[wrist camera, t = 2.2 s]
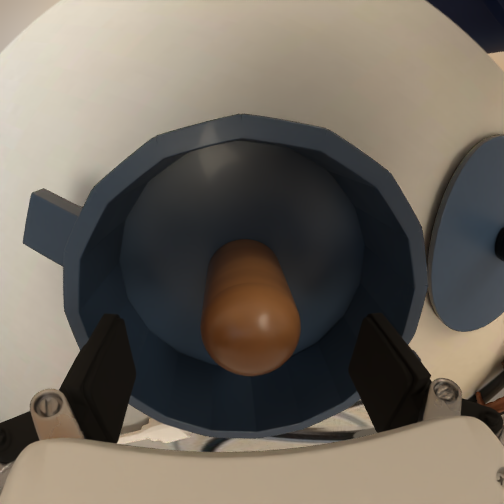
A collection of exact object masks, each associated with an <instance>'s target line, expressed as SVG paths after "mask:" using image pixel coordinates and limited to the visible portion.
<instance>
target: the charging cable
mask: <svg viewBox="0 0 504 504" xmlns="http://www.w3.org/2000/svg"><path fill="white" fill-rule="evenodd" d="M191 435H192V432H189V431H185V430H182V429H178V428H175V427H172V426H169V425H165V424H162V422H161V423H160V422H158V421H156V420H155V419H153V418H149V423H148V424H146V425H143V426H142V429H141V430H139V431H135V432H131V433H127V434H122V435H120V436H119V440H118V442H117V443H116V444H126V443H130V442H135V441H140V440H144V439H148V438H149V439H150V440H151V441H157V440H160V441H162V442H163V443H169V442H173V441H176V440H180V439H184V438H188V437H190V436H191Z"/></svg>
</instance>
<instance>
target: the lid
mask: <svg viewBox="0 0 504 504" xmlns="http://www.w3.org/2000/svg"><path fill="white" fill-rule="evenodd" d="M427 275H428V291H429V297H430V300H431V304H432V307H433V309H434V311H435V313H436V315H437V316H438V317H439V319H440V320H441V321H442V322H443V323H444V324H445V325H446V326H448V327H449V328H451V329H453V330H456V331H461V332H467V331H473V330H477V329H479V328H481V327H484V326H486V325H487V324H489V323H491V322H492V321H493V320H495V319H496V318H497V317H499V316H500V315H501V314H502V313H503V312H504V135H494V136H490V137H487V138H486V139H484V140H482V141H480V142H479V143H478V144H477V145H475V146H474V147H473V148H472V149H471V150H470V151H469V152H468V154H467V155H466V156H465V157H464V158H463V160H462V161H461V163H460V164H459V166H458V167H457V169H456V171H455V172H454V174H453V176H452V178H451V180H450V182H449V184H448V186H447V189H446V191H445V193H444V195H443V198H442V201H441V204H440V207H439V210H438V212H437V216H436V220H435V223H434V227H433V231H432V236H431V241H430V247H429V255H428V268H427Z"/></svg>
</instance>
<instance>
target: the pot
mask: <svg viewBox="0 0 504 504" xmlns="http://www.w3.org/2000/svg"><path fill="white" fill-rule="evenodd" d="M241 239H249V240H255V241H258V242H261V243H263V244H264V245H266V246H267V247H269V248H270V249H271V250H272V251H273V252H274V254H275V255H276V257H277V259H278V261H279V263H280V266H281V269H282V271H283V274H284V276H285V279H286V281H287V284H288V286H289V289H290V291H291V294H292V297H293V299H294V302H295V304H296V307H297V310H298V312H299V316H300V322H301V332H300V338H299V341H298V344H297V347H296V349H295V351H294V352H293V354H292V355H291V357H290V358H289V359H288V360H287V361H286V362H285V363H284V364H283V365H282V366H280V367H279V368H277V369H276V370H274V371H272V372H270V373H267V374H264V375H259V376H242V375H238V374H234V373H232V372H229V371H227V370H225V369H224V368H222V367H221V366H219V365H218V364H217V363H216V362H215V361H214V360H213V359H212V358H211V356H210V355H209V354H208V352H207V350H206V348H205V346H204V344H203V341H202V337H201V329H200V325H201V315H202V307H203V300H204V293H205V285H206V278H207V272H208V266H209V262H210V260H211V258H212V256H213V255H214V254H215V252H216V251H217V250H218V249H219V248H221V247H222V246H223V245H225V244H227V243H229V242H232V241H235V240H241ZM23 244H25V245H27V246H28V247H30V248H32V249H33V250H35V251H37V252H38V253H40V254H42V255H44V256H45V257H47V258H49V259H51V260H52V261H54V262H56V263H58V264H59V265H61V266H63V296H64V311H65V314H66V317H67V319H68V322H69V325H70V327H71V330H72V332H73V335H74V337H75V339H76V342H77V344H78V346H79V349H80V350H81V349H82V347H83V346H84V345H86V343H87V342H88V340H89V338H90V336H91V335H92V333H93V331H94V329H95V328H96V326H97V324H98V323H99V321H100V319H101V318H102V316H103V315H104V314H105V313H106V314H118V315H119V316H120V318H123V319H124V321H125V326H126V331H127V335H128V340H129V344H130V348H131V352H132V356H133V360H134V364H135V368H136V379H135V382H134V386H133V389H132V392H131V396H130V399H129V403H128V404H130V405H131V406H133V407H134V408H136V409H138V410H139V411H141V412H143V413H144V414H146V415H148V416H149V417H151V418H153V419H155V420H156V421H158V422H160V423H161V422H162V424H165V425H169V426H172V427H175V428H178V429H182V430H185V431H189V432H192V433H196V434H200V435H203V436H209V437H219V438H248V439H256V438H263V437H269V436H274V435H279V434H284V433H289V432H293V431H298V430H302V429H304V428H307V427H310V426H312V425H314V424H316V423H319V422H321V421H323V420H325V419H327V418H329V417H331V416H334V415H336V414H338V413H340V412H342V411H344V410H346V409H347V408H348V407H351V406H352V405H353V404H355V403H356V402H357V401H358V400H360V399H361V398H360V396H359V394H358V392H357V390H356V388H355V385H354V383H353V381H352V379H351V377H350V375H349V372H348V367H349V364H350V360H351V357H352V354H353V351H354V348H355V344H356V341H357V338H358V334H359V331H360V327H361V324H362V320H363V318H365V317H366V316H367V315H368V314H371V313H382V314H383V315H384V316H385V317H386V318H387V320H388V321H389V322H390V323H391V325H392V326H393V327H394V328H395V330H396V331H397V332H398V333H399V335H400V336H401V337H402V338H403V340H404V341H405V342H406V343H407V345H408V344H409V343H410V341H411V340H412V338H413V336H414V334H415V332H416V329H417V326H418V322H419V319H420V315H421V312H422V308H423V305H424V301H425V297H426V293H427V289H428V275H427V263H426V254H425V245H424V237H423V230H422V226H421V224H420V222H419V221H418V219H417V217H416V215H415V213H414V211H413V210H412V208H411V206H410V204H409V202H408V201H407V199H406V197H405V196H404V194H403V192H402V190H401V189H400V187H399V185H398V184H397V182H396V181H395V179H394V177H393V176H392V174H391V173H390V172H389V171H388V170H387V169H385V168H384V167H383V166H381V165H380V164H379V163H377V162H376V161H375V160H373V159H372V158H370V157H369V156H368V155H366V154H365V153H363V152H362V151H361V150H359V149H358V148H356V147H355V146H353V145H352V144H350V143H349V142H347V141H346V140H344V139H343V138H341V137H340V136H338V135H337V134H335V133H334V132H332V131H331V130H329V129H326V128H323V127H319V126H314V125H309V124H304V123H299V122H294V121H288V120H283V119H277V118H270V117H264V116H257V115H250V114H236V115H231V116H227V117H223V118H218V119H214V120H210V121H206V122H202V123H198V124H194V125H191V126H187V127H184V128H180V129H177V130H173V131H170V132H166V133H163V134H160V135H157V136H155V137H153V138H152V139H150V140H149V141H148V142H146V143H145V144H144V145H142V146H141V147H140V148H139V149H137V150H136V151H135V152H134V153H132V154H131V155H130V156H129V157H127V158H126V159H125V160H124V161H123V162H121V163H120V164H119V165H118V166H117V167H115V168H114V169H113V170H112V171H111V172H110V173H109V174H107V175H106V176H105V177H104V178H103V179H102V180H101V181H100V182H98V183H97V184H96V185H95V186H94V188H93V189H92V190H91V192H90V194H89V196H88V198H87V200H86V202H85V204H84V206H83V208H82V207H80V206H78V205H76V204H74V203H72V202H70V201H68V200H66V199H64V198H62V197H60V196H58V195H56V194H54V193H52V192H50V191H48V190H46V189H44V188H43V189H41V190H38V191H35V192H33V193H32V194H31V198H30V203H29V208H28V213H27V219H26V224H25V231H24V238H23ZM412 351H413V352H414V354H415V355H416V356H417V357H418V359H419V360H420V361H421V359H420V358H419V356H418V355H417V354H416V352H415V351H414V350H412Z"/></svg>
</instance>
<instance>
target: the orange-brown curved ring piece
mask: <svg viewBox="0 0 504 504" xmlns="http://www.w3.org/2000/svg"><path fill="white" fill-rule="evenodd" d="M502 365H503V368H504V360H503V362H502ZM476 397H477V398H476V399H477V401H478V404H481V405H484V406H487V407H490V408H493V409H495V410H496V411H497V412H499V414H500V415H502V414H504V397H502V398H499V399H497V400H496V401H494V402H489V403H487V404H485V403H484V402H483V400H482V397H481V393H480V392H476Z"/></svg>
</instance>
